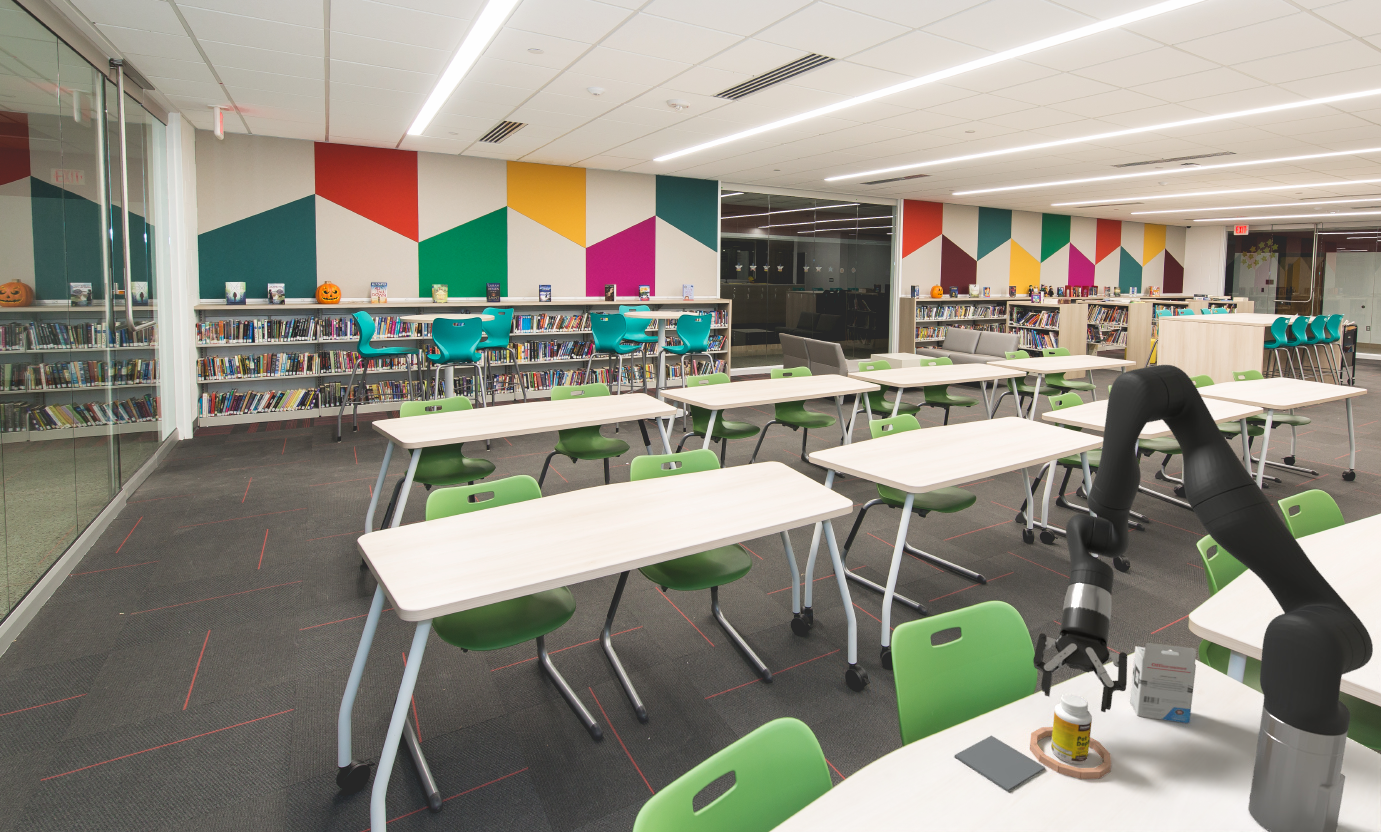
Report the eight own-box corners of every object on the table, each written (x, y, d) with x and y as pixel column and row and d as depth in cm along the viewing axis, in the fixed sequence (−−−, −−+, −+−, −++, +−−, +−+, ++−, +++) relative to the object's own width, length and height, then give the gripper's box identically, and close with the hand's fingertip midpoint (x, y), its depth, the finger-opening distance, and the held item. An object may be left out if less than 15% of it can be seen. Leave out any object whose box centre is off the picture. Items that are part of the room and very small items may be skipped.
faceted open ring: (1124, 761, 117) (1125, 755, 116) (1084, 788, 110) (1085, 781, 110) (1055, 725, 127) (1056, 719, 126) (1015, 747, 120) (1015, 741, 120)
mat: (1045, 769, 115) (1045, 767, 115) (1007, 791, 110) (1008, 789, 110) (991, 737, 123) (991, 735, 123) (954, 757, 118) (954, 754, 118)
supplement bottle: (1076, 770, 115) (1082, 713, 113) (1044, 752, 119) (1049, 697, 118) (1094, 757, 118) (1100, 702, 116) (1061, 740, 122) (1066, 687, 121)
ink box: (1180, 709, 131) (1188, 636, 129) (1190, 724, 127) (1199, 649, 124) (1128, 702, 134) (1136, 630, 131) (1136, 716, 129) (1144, 642, 127)
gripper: (1042, 597, 128) (1027, 683, 121) (1133, 616, 120) (1124, 709, 113) (1043, 613, 133) (1030, 696, 126) (1131, 632, 126) (1122, 722, 118)
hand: (1074, 702), depth 119 cm, fingers open, 8 cm apart
